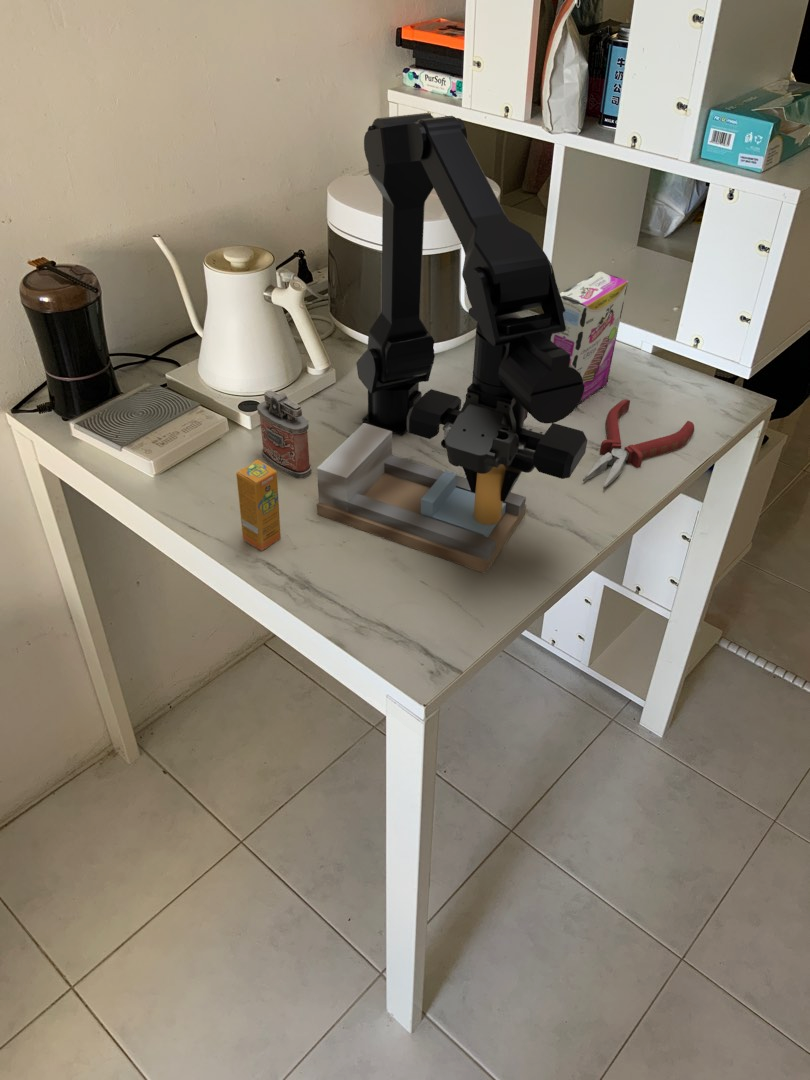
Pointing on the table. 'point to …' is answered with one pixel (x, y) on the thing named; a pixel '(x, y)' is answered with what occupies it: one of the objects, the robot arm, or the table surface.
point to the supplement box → (259, 504)
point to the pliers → (633, 452)
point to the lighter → (284, 435)
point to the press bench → (402, 501)
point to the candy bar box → (592, 327)
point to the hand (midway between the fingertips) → (489, 495)
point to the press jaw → (467, 502)
